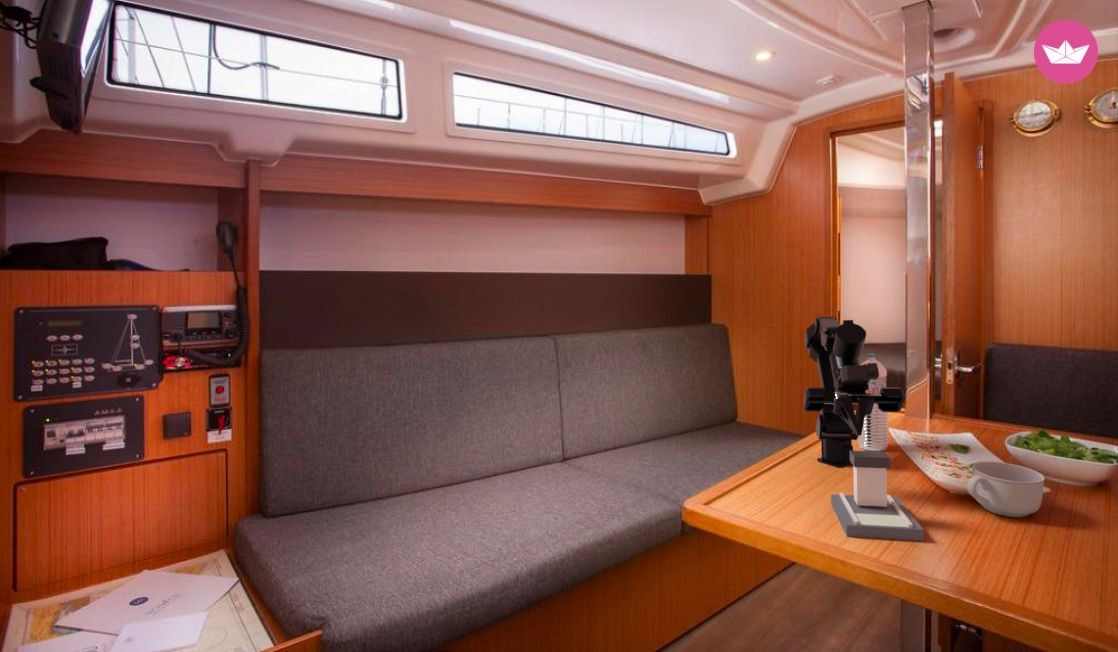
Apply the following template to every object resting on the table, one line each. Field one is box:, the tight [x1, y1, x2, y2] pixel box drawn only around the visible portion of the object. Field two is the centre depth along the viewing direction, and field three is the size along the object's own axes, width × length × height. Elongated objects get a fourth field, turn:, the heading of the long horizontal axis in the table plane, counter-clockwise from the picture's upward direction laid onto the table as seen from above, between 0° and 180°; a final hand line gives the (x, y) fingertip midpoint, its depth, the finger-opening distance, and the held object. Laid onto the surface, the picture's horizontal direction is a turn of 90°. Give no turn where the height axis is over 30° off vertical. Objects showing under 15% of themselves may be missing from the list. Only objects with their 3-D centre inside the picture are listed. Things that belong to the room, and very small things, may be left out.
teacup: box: [966, 461, 1046, 518], centre depth 107 cm, size 14×11×8 cm
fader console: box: [830, 492, 925, 542], centre depth 106 cm, size 15×12×3 cm
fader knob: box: [850, 450, 891, 507], centre depth 108 cm, size 4×6×10 cm, turn 74°
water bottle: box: [857, 353, 889, 452], centre depth 149 cm, size 7×7×25 cm
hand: (859, 434), depth 116 cm, fingers closed
